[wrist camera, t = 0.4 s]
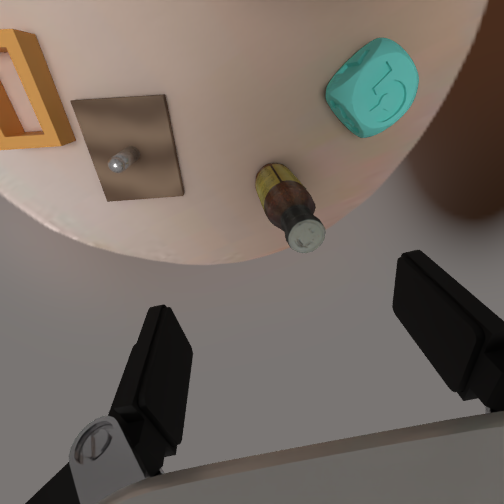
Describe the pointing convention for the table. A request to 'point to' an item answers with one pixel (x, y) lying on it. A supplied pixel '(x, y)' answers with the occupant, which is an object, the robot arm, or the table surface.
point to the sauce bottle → (289, 207)
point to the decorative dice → (373, 88)
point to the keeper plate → (131, 131)
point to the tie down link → (31, 97)
